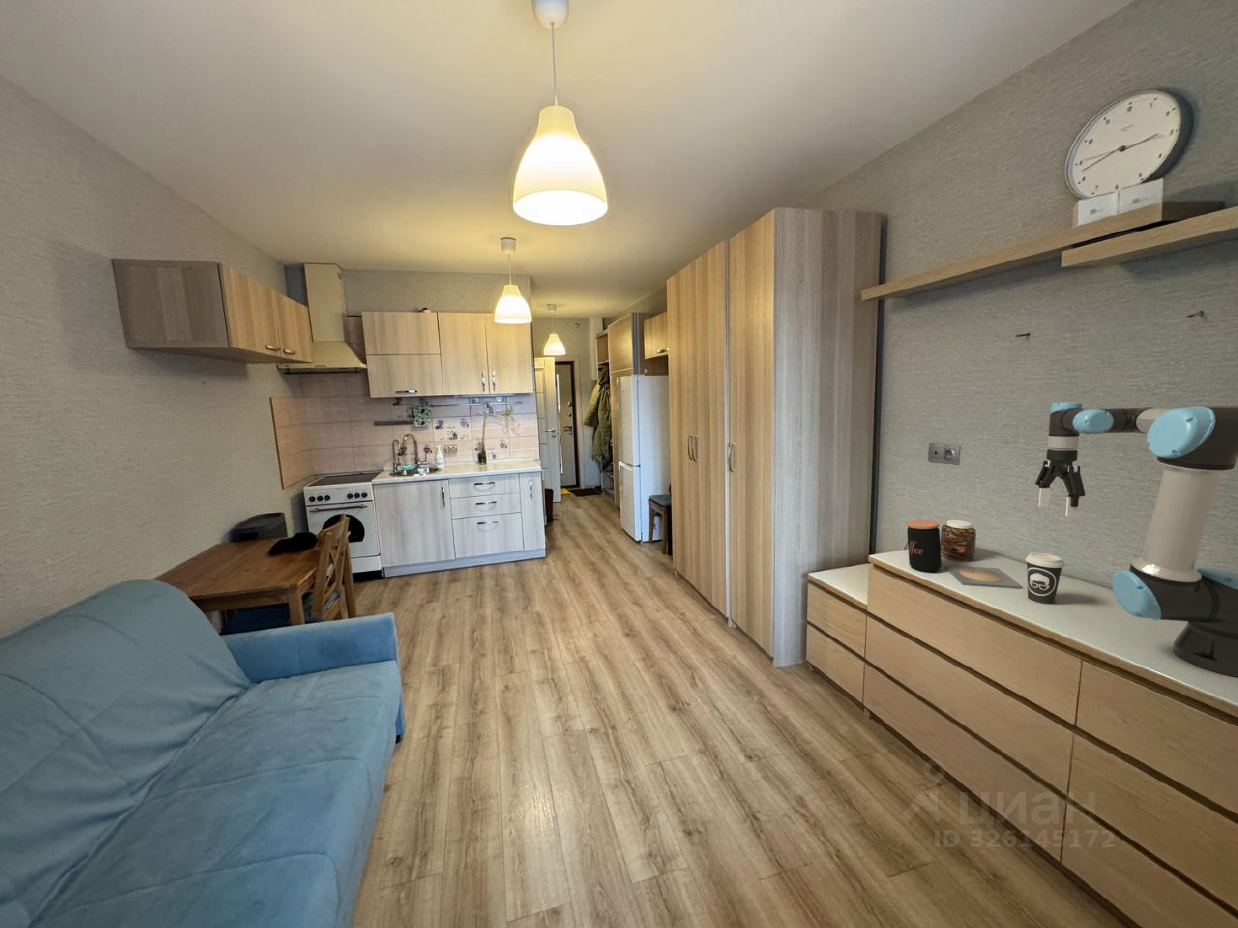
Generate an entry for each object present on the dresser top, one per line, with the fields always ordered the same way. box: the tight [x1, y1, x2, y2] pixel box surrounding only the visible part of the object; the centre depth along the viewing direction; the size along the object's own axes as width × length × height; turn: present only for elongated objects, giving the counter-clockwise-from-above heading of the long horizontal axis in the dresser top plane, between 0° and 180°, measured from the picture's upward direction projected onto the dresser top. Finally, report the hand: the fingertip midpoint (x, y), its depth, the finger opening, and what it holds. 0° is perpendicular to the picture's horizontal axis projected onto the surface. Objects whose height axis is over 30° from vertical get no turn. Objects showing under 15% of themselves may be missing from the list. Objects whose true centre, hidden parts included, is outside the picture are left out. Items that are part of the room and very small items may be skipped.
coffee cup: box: [1025, 551, 1066, 605], centre depth 153 cm, size 10×10×15 cm
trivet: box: [943, 564, 1024, 590], centre depth 174 cm, size 18×18×1 cm
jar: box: [940, 519, 977, 563], centre depth 194 cm, size 12×12×15 cm
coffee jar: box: [906, 519, 943, 573], centre depth 183 cm, size 11×11×18 cm
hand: (1056, 511), depth 158 cm, fingers open, 13 cm apart
